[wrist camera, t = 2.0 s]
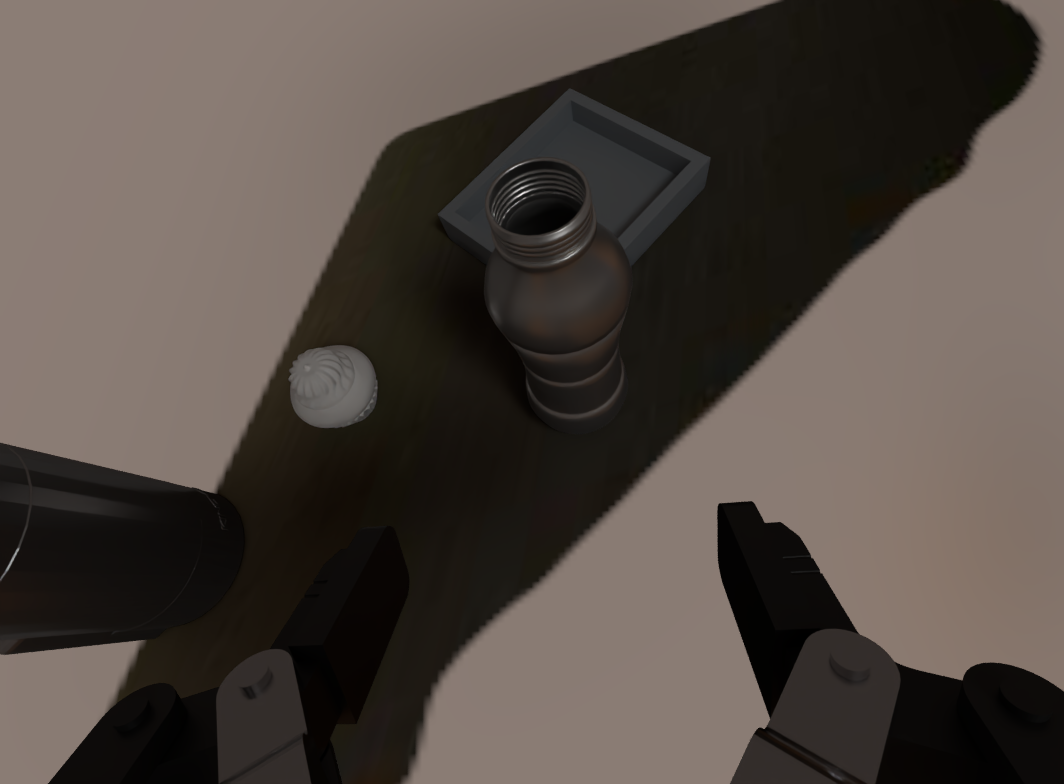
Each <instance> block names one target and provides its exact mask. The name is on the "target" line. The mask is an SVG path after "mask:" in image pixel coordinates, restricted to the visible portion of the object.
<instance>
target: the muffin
mask: <svg viewBox="0 0 1064 784" xmlns="http://www.w3.org/2000/svg"><path fill="white" fill-rule="evenodd" d="M289 371H290V373H291V375H290V377H289V379H288V380H289V381H290V382H291V385H290V397H291V402H292V406H293V408H294V410H295V412H296V413H297V415H298V416H299V417H300V418H301V419H302V420H303V421H305V422H306V423H308V424H310V425H312V426H315V427H319V428H333V427H335V428H339V427H345V426H348V425H351V424H354V423H357V422H359V421H362V420H363V419H366V417H367V416H369V414H370V413H371V412H373V409H374V408H375V405H376V401H377V390H378V387H377V380H376V374H375V371H374V368H373V365H372V363H371V362H370V360H369V359H368V357H367V356H366V355H365V354H363V353H362V352H361V351H359V350H358V349H356V348H353V347H350V346H345V345H334V346H327V347H323V348H315V349H309V350H307V351H305V353H303V354H300V355H299V356H298V360H295V361H293V367H292V368H291V369H290V370H289Z"/></svg>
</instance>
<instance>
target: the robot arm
mask: <svg viewBox="0 0 1064 784" xmlns="http://www.w3.org/2000/svg"><path fill="white" fill-rule="evenodd" d="M717 513H718V515H717V516H718V517H717V519H718V564H719V569H720V574H721V579H722V583H723V586H724V588H725V591H726V594H727V597H728V600H729V603H730V605H731V608H732V611H733V614H734V617H735V620H736V623H737V626H738V628H739V631H740V634H741V637H742V640H743V643H744V645H745V648H746V651H747V654H748V657H749V660H750V662H751V665H752V668H753V671H754V674H755V677H756V680H757V683H758V685H759V688H760V691H761V694H762V697H763V700H764V703H765V705H766V708H767V711H768V714H769V717H770V721H769V723H768V725H767V727H766V728H765V729H763V728H758V729H757V730H756V731H755V733H754V734H753V736H752V738H751V740H750V742H749V744H748V746H747V748H746V750H745V753H744V755H743V757H742V759H741V761H740V763H739V766H738V768H737V770H736V772H735V774H734V776H733V778H732V781H731V783H730V784H1064V691H1062V690H1061V689H1059V688H1058V687H1057V686H1055V685H1054V684H1052V683H1050V682H1049V681H1047V680H1046V679H1044V678H1042V677H1040V676H1038V675H1036V674H1034V673H1032V672H1029V671H1026V670H1024V669H1022V668H1018V667H1015V666H1012V665H1007V664H1002V663H981V664H977V665H975V666H973V667H971V668H970V669H968V670H967V671H966V673H965V675H964V677H963V681H962V680H958V679H954V678H949V677H945V676H940V675H936V674H932V673H927V672H923V671H919V670H915V669H912V668H908V667H906V666H903V665H900V664H898V663H896V662H894V661H893V660H892V658H891V657H890V656H889V654H888V653H887V652H886V651H885V650H884V649H882V648H881V647H880V646H879V645H877V644H876V643H875V642H873V641H871V640H870V639H868V638H866V637H864V636H862V635H860V634H859V633H858V632H857V631H856V629H855V627H854V626H853V624H852V622H851V621H850V619H849V617H848V616H847V614H846V612H845V611H844V609H843V608H842V606H841V604H840V602H839V601H838V599H837V597H836V596H835V594H834V593H833V591H832V589H831V588H830V586H829V584H828V583H827V581H826V579H825V578H824V576H823V574H821V573H820V569H819V568H818V566H817V565H816V563H815V561H814V559H813V558H811V555H810V553H809V551H808V550H807V548H806V546H805V545H804V543H803V541H802V540H801V538H800V537H799V536H798V535H797V534H796V533H794V532H793V531H792V530H790V529H789V528H788V527H787V526H785V525H784V524H783V523H781V522H775V523H764V521H763V519H762V517H761V515H760V513H759V511H758V509H757V507H756V506H755V504H754V503H753V502H752V501H748V502H734V503H720V504H719V505H718V511H717ZM243 547H244V534H243V527H242V523H241V520H240V517H239V515H238V513H237V511H236V510H235V508H234V506H232V505H231V504H230V503H229V502H228V501H227V500H226V499H225V498H223V497H221V496H219V495H217V494H214V493H210V492H206V491H202V490H200V489H197V488H189V487H185V486H181V485H177V484H173V483H169V482H165V481H161V480H156V479H152V478H148V477H143V476H140V475H135V474H131V473H127V472H123V471H118V470H114V469H110V468H105V467H101V466H97V465H93V464H88V463H84V462H79V461H76V460H71V459H67V458H63V457H58V456H54V455H50V454H46V453H41V452H37V451H33V450H29V449H24V448H20V447H16V446H11V445H7V444H3V443H0V654H3V655H8V654H18V653H26V652H36V651H45V650H55V649H64V648H72V647H82V646H92V645H101V644H110V643H120V642H129V641H138V640H147V639H155V638H157V637H158V636H159V635H160V634H161V633H162V632H163V631H164V630H166V629H167V628H169V627H173V626H178V625H182V624H186V623H188V622H191V621H193V620H195V619H197V618H199V617H201V616H202V615H203V614H205V613H206V612H208V611H209V610H210V609H211V608H212V607H213V606H214V605H215V604H216V603H217V602H218V601H219V600H220V599H221V598H222V597H223V596H224V594H225V593H226V591H227V590H228V589H229V587H230V586H231V584H232V582H233V580H234V578H235V576H236V574H237V572H238V569H239V566H240V562H241V559H242V555H243ZM408 591H409V574H408V569H407V566H406V563H405V560H404V557H403V554H402V550H401V547H400V544H399V541H398V538H397V535H396V532H395V530H394V528H393V527H392V526H378V527H364V528H361V529H360V530H359V531H358V532H357V534H356V535H355V537H354V539H353V540H352V542H351V544H350V545H349V547H348V549H341V550H340V551H339V552H338V553H337V554H335V555H334V556H333V557H332V558H331V559H330V560H329V561H327V562H326V563H325V564H324V566H323V567H322V569H321V570H320V572H319V573H318V575H317V576H316V578H315V580H314V584H311V586H310V587H309V589H308V590H307V592H306V594H305V598H302V600H301V601H300V603H299V604H298V606H297V607H296V609H295V611H294V612H293V614H292V615H291V617H290V618H289V620H288V621H287V623H286V625H285V626H284V628H283V629H282V631H281V632H280V634H279V635H278V637H277V639H276V640H275V642H274V643H273V645H272V646H271V648H270V649H269V650H266V651H262V652H259V653H257V654H255V655H253V656H251V657H249V658H247V659H246V660H244V661H243V662H242V663H240V664H239V665H238V666H237V667H235V668H234V669H233V670H232V671H231V672H230V673H229V674H228V676H227V677H226V678H225V679H224V681H223V682H222V684H221V686H220V687H217V688H214V689H211V690H208V691H204V692H201V693H198V694H195V695H192V696H189V697H186V698H183V699H181V698H180V697H179V695H178V694H177V692H176V690H175V689H174V688H173V686H171V685H169V684H166V683H158V684H153V685H149V686H146V687H144V688H141V689H139V690H137V691H135V692H133V693H132V694H130V695H128V696H127V697H125V698H124V699H122V700H121V701H120V702H118V703H117V704H116V705H115V706H113V707H112V708H111V709H110V710H109V711H108V712H107V713H106V714H105V715H104V716H103V717H102V718H101V719H100V721H99V722H98V723H97V724H96V726H95V727H94V728H93V729H92V730H91V732H90V733H89V734H88V735H87V737H86V738H85V739H84V740H83V741H82V743H81V744H80V745H79V746H78V748H77V749H76V750H75V751H74V753H73V754H72V755H71V756H70V758H69V759H68V760H67V761H66V762H65V764H64V765H63V766H62V767H61V768H60V770H59V771H58V772H57V773H56V775H55V776H54V777H53V778H52V779H51V781H50V782H49V783H48V784H343V783H342V779H341V775H340V771H339V767H338V763H337V759H336V755H335V751H334V748H333V745H332V742H331V740H330V737H331V735H332V733H333V731H334V728H335V726H336V724H357V721H358V719H359V716H360V714H361V711H362V709H363V706H364V704H365V701H366V699H367V696H368V694H369V691H370V689H371V686H372V684H373V681H374V679H375V676H376V674H377V671H378V669H379V666H380V664H381V661H382V659H383V656H384V654H385V651H386V649H387V646H388V644H389V641H390V639H391V636H392V634H393V631H394V629H395V626H396V624H397V621H398V619H399V616H400V614H401V611H402V609H403V606H404V604H405V601H406V599H407V596H408Z"/></svg>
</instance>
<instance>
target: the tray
mask: <svg viewBox="0 0 1064 784" xmlns="http://www.w3.org/2000/svg"><path fill="white" fill-rule="evenodd" d="M537 157H554V158H559V159H563V160H566V161H568V162H571V163H572V164H574V165H575V166H577V167H578V168H579V169H580V170H581V171H582V172H583V173H584V175H585V176H586V178H587V180H588V183H589V186H590V189H591V196H592V204H593V205H594V208H595V212H596V218H597V222H598V223H600V224H601V225H603V226H604V227H606V228H607V229H609V230H610V231H611V232H612V233H613V234H614V235H615V236H616V237H617V239H618V240H619V242H620V244H621V245H622V247H623V249H624V251H625V253H626V255H627V257H628V259H629V262H630V265H631V266H632V265H633V264H634V263H635V262H636V261H637V260H638V259H639V257H640V256H641V255H642V254H643V253H644V252H645V251H646V250H647V249H648V248H649V247H650V246H651V245H652V243H653V242H654V241H655V240H656V239H657V238H658V237H659V236H660V235H661V234H662V233H663V232H664V231H665V229H666V228H667V227H668V226H669V225H670V224H671V223H672V222H673V221H674V220H675V219H676V218H677V217H678V215H679V214H680V213H681V212H682V211H683V210H684V209H685V208H686V207H687V206H688V205H689V204H690V203H691V202H692V200H693V199H694V198H695V197H696V196H697V195H698V194H699V193H700V192H701V191H702V190H703V189H704V188H705V183H706V178H707V174H708V169H709V164H710V159H711V158H710V157H708V156H706V155H704V154H702V153H700V152H698V151H696V150H694V149H692V148H690V147H687V146H685V145H683V144H681V143H679V142H677V141H675V140H673V139H671V138H669V137H667V136H665V135H663V134H661V133H659V132H657V131H655V130H653V129H651V128H649V127H647V126H645V125H643V124H641V123H639V122H637V121H635V120H633V119H631V118H629V117H627V116H625V115H623V114H621V113H619V112H617V111H615V110H613V109H611V108H609V107H607V106H605V105H602V104H600V103H598V102H596V101H594V100H592V99H590V98H588V97H586V96H584V95H582V94H580V93H578V92H576V91H574V90H572V89H569V90H567V91H566V92H565V93H564V94H563V95H562V96H561V97H560V98H559V99H558V100H557V101H556V102H555V103H554V104H553V105H552V106H551V107H550V108H549V109H548V110H547V111H545V112H544V113H543V114H542V115H541V116H540V117H539V118H538V119H537V120H536V121H535V122H534V123H533V124H532V125H531V126H530V127H529V128H528V129H527V130H526V131H525V132H523V133H522V134H521V135H520V136H519V137H518V138H517V139H516V140H515V141H514V142H513V143H512V144H511V145H510V146H509V147H508V148H507V149H506V150H505V151H504V152H503V153H501V154H500V155H499V156H498V157H497V158H496V159H495V160H494V161H493V162H492V163H491V164H490V165H489V166H488V167H487V168H486V169H485V170H484V171H483V172H482V173H481V174H479V175H478V176H477V177H476V178H475V179H474V180H473V181H472V182H471V183H470V184H469V185H468V186H467V187H466V188H465V189H464V190H463V191H462V192H461V193H460V194H459V195H457V196H456V197H455V198H454V199H453V200H452V201H451V202H450V203H449V204H448V205H447V206H446V207H445V208H444V209H443V210H442V211H441V212H440V213H439V214H438V216H439V218H440V220H441V222H442V224H443V226H444V228H445V231H446V233H447V235H448V237H449V239H451V240H452V241H454V242H455V243H456V244H458V245H459V246H461V247H462V248H463V249H465V250H466V251H467V252H469V253H470V254H472V255H473V256H474V257H476V258H477V259H479V260H480V261H481V262H483V263H484V264H486V265H487V263H488V260H489V258H490V256H491V254H492V252H493V251H494V249H495V245H494V243H493V240H492V235H491V227H490V225H489V222H488V220H487V217H486V211H485V197H486V194H487V191H488V189H489V187H490V185H491V184H492V182H493V181H494V180H495V179H496V177H497V176H498V175H499V174H500V173H502V172H503V171H504V170H505V169H507V168H509V167H510V166H512V165H514V164H516V163H518V162H521V161H523V160H527V159H531V158H537Z"/></svg>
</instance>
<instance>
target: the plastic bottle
mask: <svg viewBox="0 0 1064 784" xmlns="http://www.w3.org/2000/svg"><path fill="white" fill-rule="evenodd" d="M485 211H486V217H487V220H488V222H489V225H490V227H491V235H492V240H493V243H494V245H495V249H494V251H493V252H492V254H491V256H490V258H489V260H488V263H487V267H486V270H485V282H484V298H485V304H486V307H487V309H488V312H489V314H490V316H491V318H492V319H493V321H494V323H495V324H496V326H497V327H498V329H499V330H500V331H501V333H502V334H503V335H504V336H505V337H506V339H507V340H508V341H509V342H510V343H511V345H512V346H513V347H514V348H515V349H516V351H517V353H518V354H519V356H520V358H521V360H522V361H523V364H524V366H525V371H526V391H527V397H528V401H529V403H530V406H531V408H532V409H533V411H534V412H535V414H536V415H537V416H538V417H539V418H540V419H541V420H542V421H543V422H545V423H546V424H547V425H549V426H550V427H552V428H554V429H555V430H558V431H561V432H563V433H568V434H585V433H590V432H593V431H596V430H598V429H600V428H602V427H604V426H605V425H607V424H608V423H609V422H610V421H611V420H612V419H613V418H614V417H615V416H616V415H617V413H618V412H619V410H620V409H621V407H622V405H623V403H624V401H625V398H626V395H627V390H628V378H627V374H626V370H625V367H624V363H623V361H622V359H621V357H620V353H619V348H618V344H619V336H620V329H621V326H622V323H623V320H624V317H625V314H626V311H627V308H628V305H629V300H630V295H631V289H632V284H633V279H632V269H631V265H630V262H629V259H628V257H627V255H626V253H625V251H624V249H623V247H622V245H621V244H620V242H619V240H618V239H617V237H616V236H615V235H614V234H613V233H612V232H611V231H610V230H609V229H607V228H606V227H604V226H603V225H601V224H600V223H598V222H597V218H596V212H595V208H594V205H593V204H592V196H591V189H590V186H589V183H588V180H587V178H586V176H585V175H584V173H583V172H582V171H581V170H580V169H579V168H578V167H577V166H575V165H574V164H572V163H571V162H568V161H566V160H563V159H559V158H554V157H537V158H531V159H527V160H523V161H521V162H518V163H516V164H514V165H512V166H510V167H509V168H507V169H505V170H504V171H503V172H502V173H500V174H499V175H498V176H497V177H496V179H495V180H494V181H493V182H492V184H491V185H490V187H489V189H488V191H487V194H486V197H485Z"/></svg>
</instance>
